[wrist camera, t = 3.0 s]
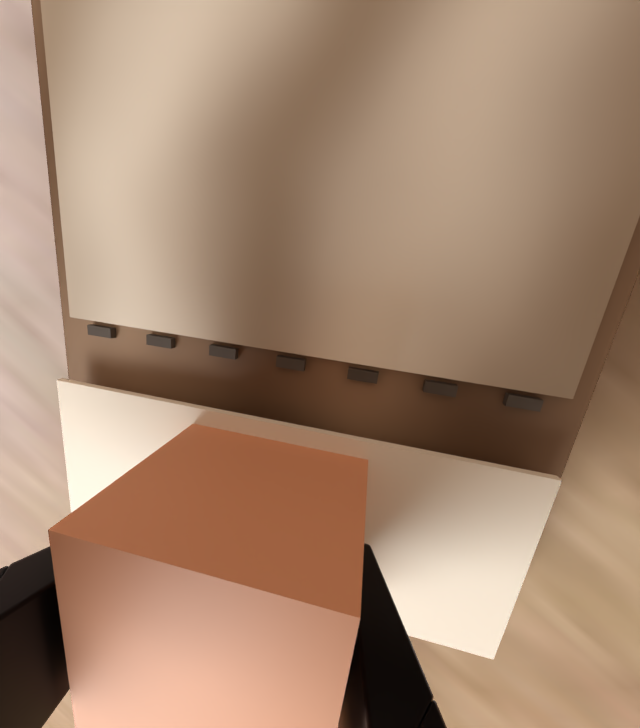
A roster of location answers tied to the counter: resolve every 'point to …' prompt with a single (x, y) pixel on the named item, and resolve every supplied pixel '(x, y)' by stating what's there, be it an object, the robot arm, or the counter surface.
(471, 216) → the board
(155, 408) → the butter dish
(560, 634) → the counter surface
